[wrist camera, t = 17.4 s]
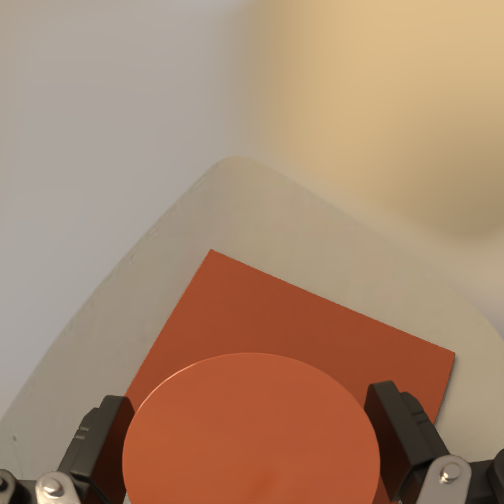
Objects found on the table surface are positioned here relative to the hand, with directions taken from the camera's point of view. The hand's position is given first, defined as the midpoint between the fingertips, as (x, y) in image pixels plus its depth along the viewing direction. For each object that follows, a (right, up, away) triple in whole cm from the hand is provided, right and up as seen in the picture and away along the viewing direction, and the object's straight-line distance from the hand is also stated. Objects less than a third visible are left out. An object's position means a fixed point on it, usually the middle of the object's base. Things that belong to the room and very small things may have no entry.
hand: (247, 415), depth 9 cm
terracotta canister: (0, -4, +4) cm, 6 cm away
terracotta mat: (+2, -3, +5) cm, 6 cm away
